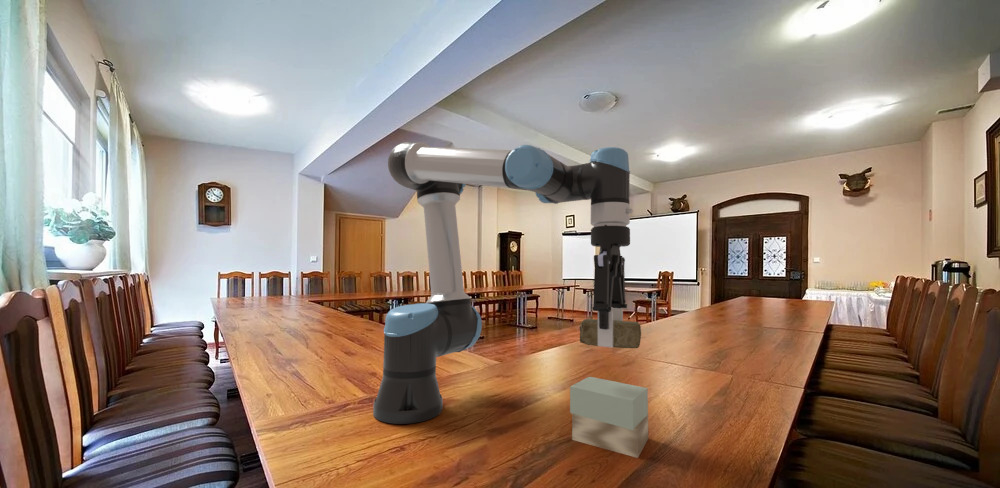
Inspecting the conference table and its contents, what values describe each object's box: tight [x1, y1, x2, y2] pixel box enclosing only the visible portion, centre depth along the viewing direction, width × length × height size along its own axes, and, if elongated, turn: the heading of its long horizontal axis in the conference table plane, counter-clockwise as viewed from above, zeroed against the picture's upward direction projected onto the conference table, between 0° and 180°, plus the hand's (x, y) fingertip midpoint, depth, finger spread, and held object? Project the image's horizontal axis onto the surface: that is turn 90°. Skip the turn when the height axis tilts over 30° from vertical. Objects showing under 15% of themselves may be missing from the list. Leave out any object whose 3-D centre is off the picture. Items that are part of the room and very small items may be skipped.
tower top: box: [569, 376, 649, 430], centre depth 71 cm, size 12×9×5 cm
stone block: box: [579, 318, 642, 349], centre depth 72 cm, size 6×12×5 cm, turn 73°
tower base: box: [571, 413, 649, 459], centre depth 71 cm, size 12×9×5 cm
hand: (610, 343), depth 72 cm, fingers closed on stone block, 7 cm apart
